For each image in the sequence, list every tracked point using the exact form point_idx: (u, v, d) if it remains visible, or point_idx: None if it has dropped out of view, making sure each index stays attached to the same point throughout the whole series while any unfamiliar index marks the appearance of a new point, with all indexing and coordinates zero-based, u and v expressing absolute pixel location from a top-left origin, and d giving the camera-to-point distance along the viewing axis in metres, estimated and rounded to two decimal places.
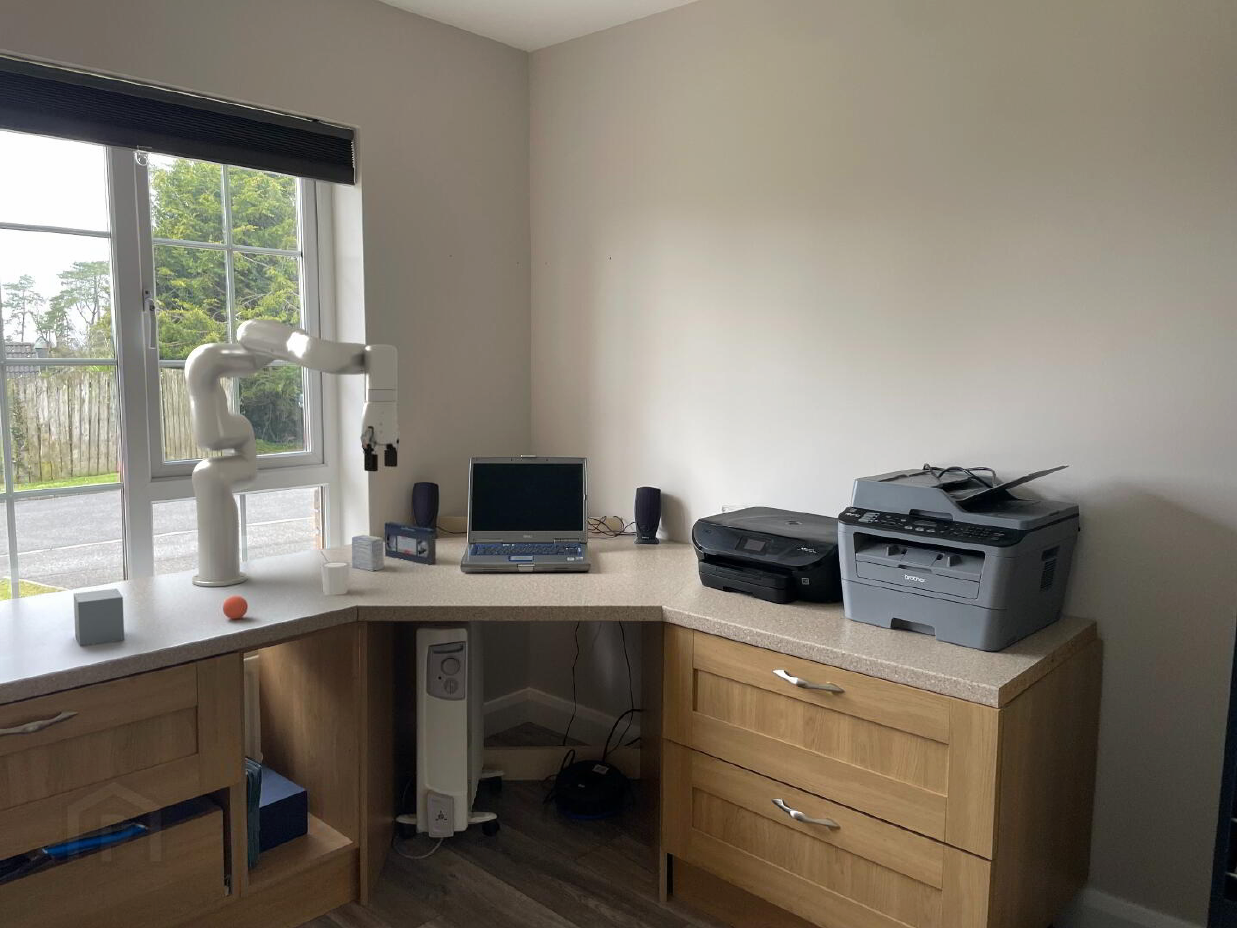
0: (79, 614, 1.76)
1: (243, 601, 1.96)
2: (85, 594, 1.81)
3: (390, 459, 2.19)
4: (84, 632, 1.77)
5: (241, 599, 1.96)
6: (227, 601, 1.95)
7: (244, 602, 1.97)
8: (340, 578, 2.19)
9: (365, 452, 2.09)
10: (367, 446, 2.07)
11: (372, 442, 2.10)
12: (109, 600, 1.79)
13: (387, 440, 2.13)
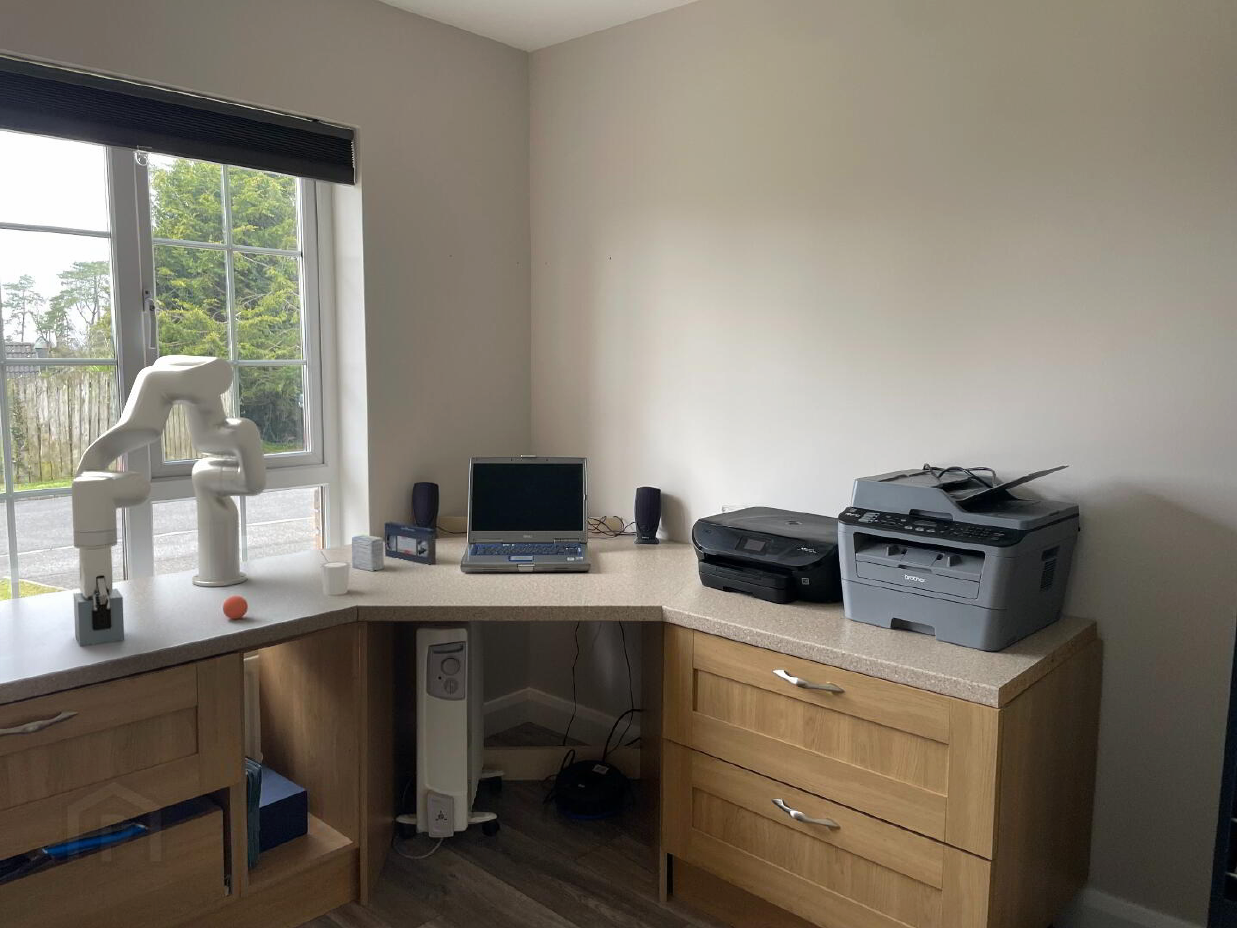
0: (79, 614, 1.76)
1: (243, 601, 1.96)
2: None
3: None
4: (84, 632, 1.77)
5: (241, 599, 1.96)
6: (227, 601, 1.95)
7: (244, 602, 1.97)
8: (340, 578, 2.19)
9: (98, 609, 1.76)
10: (106, 602, 1.75)
11: None
12: (109, 600, 1.79)
13: None
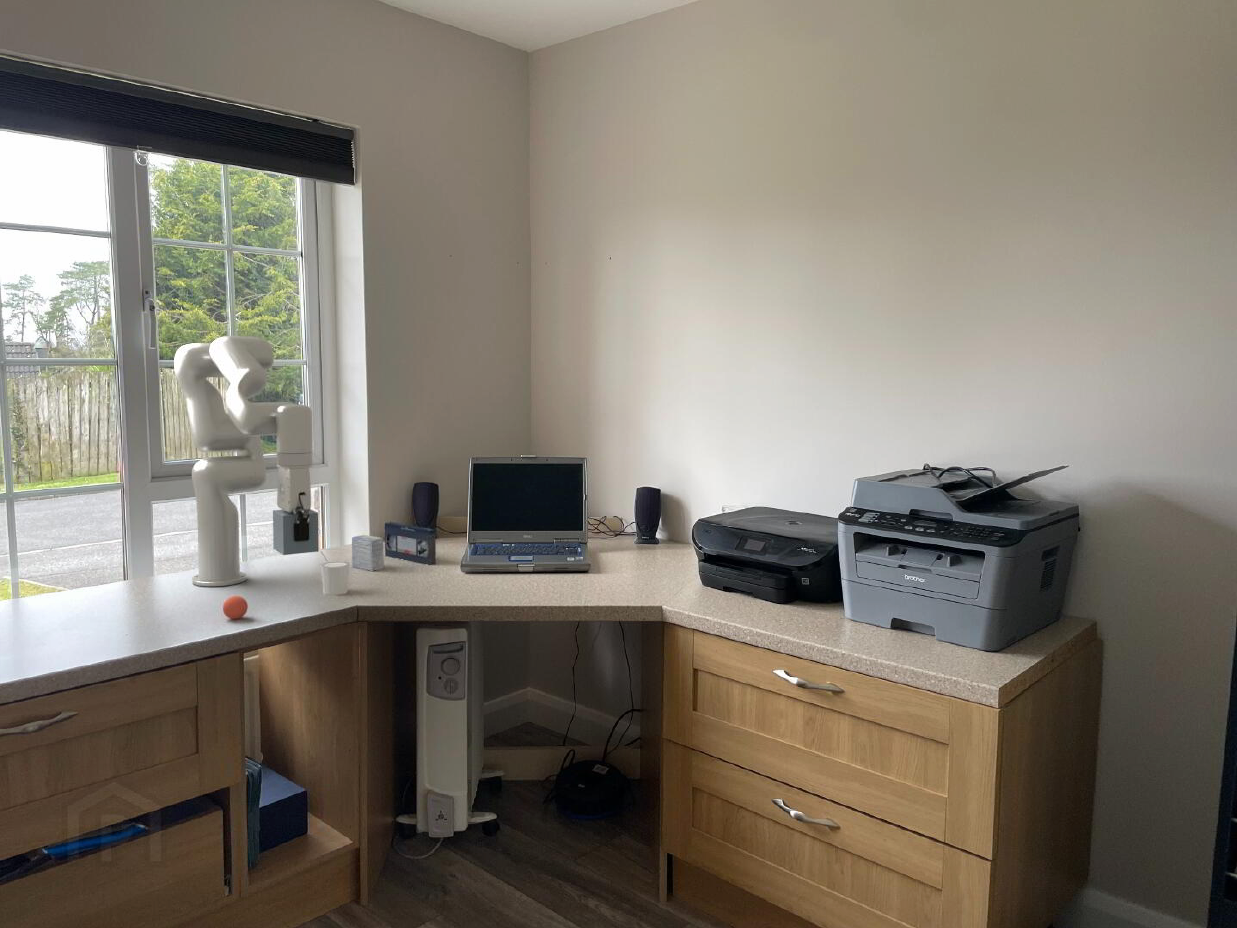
0: (283, 526, 1.98)
1: (243, 601, 1.96)
2: (284, 511, 2.03)
3: None
4: (287, 543, 1.98)
5: (241, 599, 1.96)
6: (227, 601, 1.95)
7: (244, 602, 1.97)
8: (340, 578, 2.19)
9: (300, 522, 1.98)
10: (307, 515, 1.97)
11: (302, 510, 1.99)
12: None
13: None
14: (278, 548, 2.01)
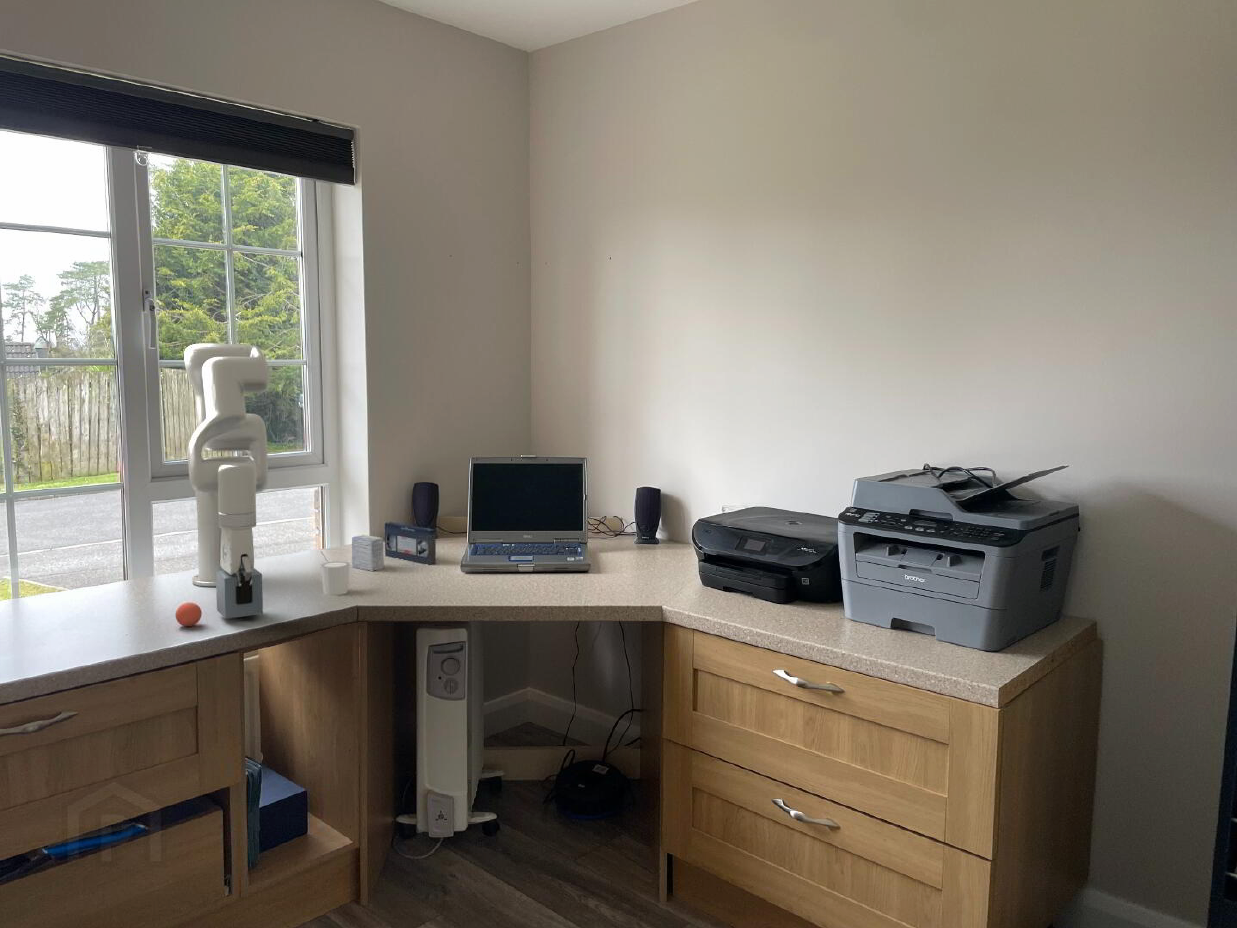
0: (225, 589, 1.92)
1: (189, 625, 1.90)
2: None
3: None
4: (229, 606, 1.92)
5: (191, 625, 1.90)
6: None
7: (187, 624, 1.89)
8: (340, 578, 2.19)
9: (242, 584, 1.92)
10: (250, 578, 1.91)
11: None
12: None
13: None
14: (221, 610, 1.95)
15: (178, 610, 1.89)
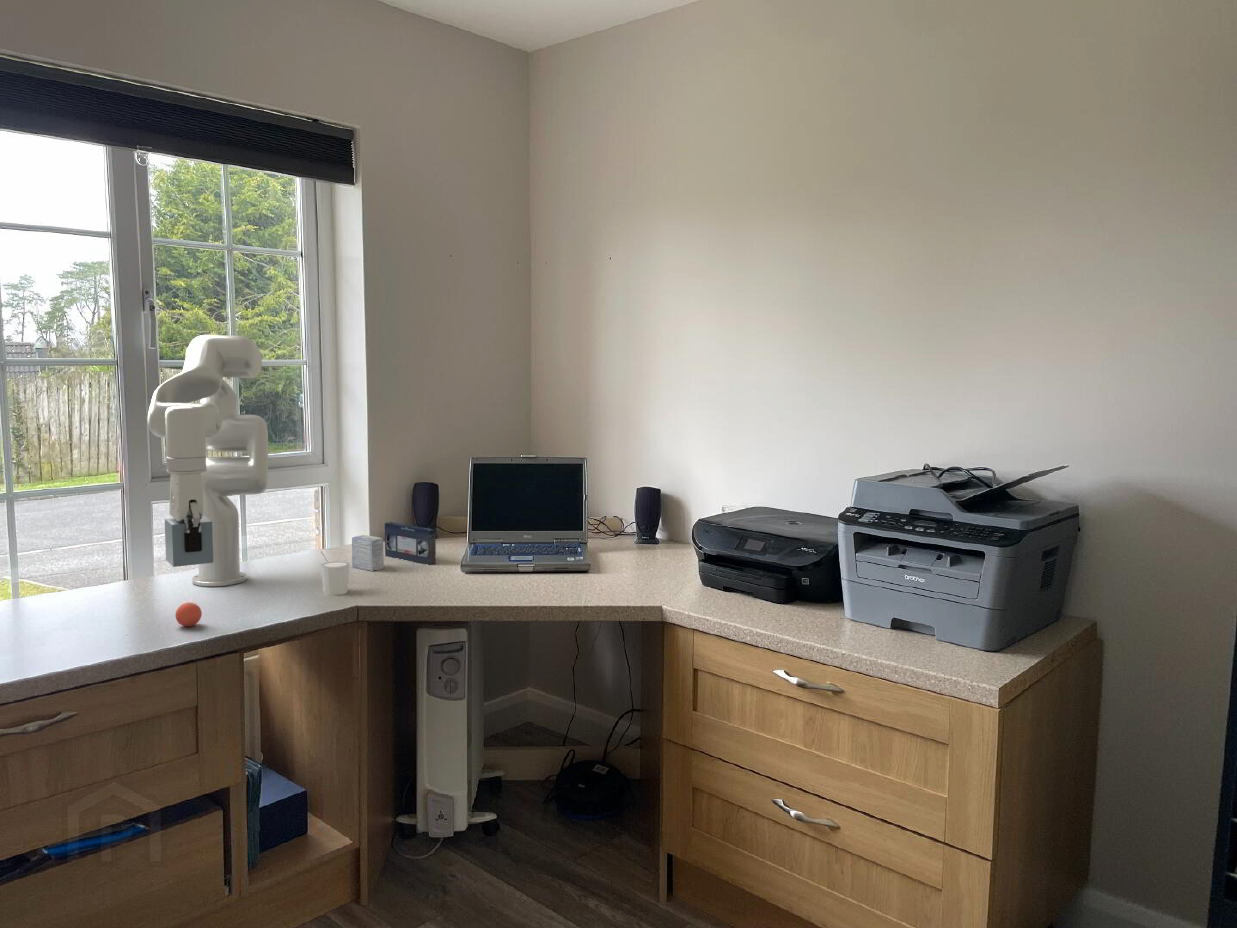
0: (173, 536, 1.84)
1: (189, 625, 1.90)
2: None
3: None
4: (177, 554, 1.85)
5: (191, 625, 1.90)
6: None
7: (187, 624, 1.89)
8: (340, 578, 2.19)
9: (190, 531, 1.85)
10: (198, 524, 1.84)
11: None
12: None
13: None
14: (169, 559, 1.88)
15: (178, 610, 1.89)
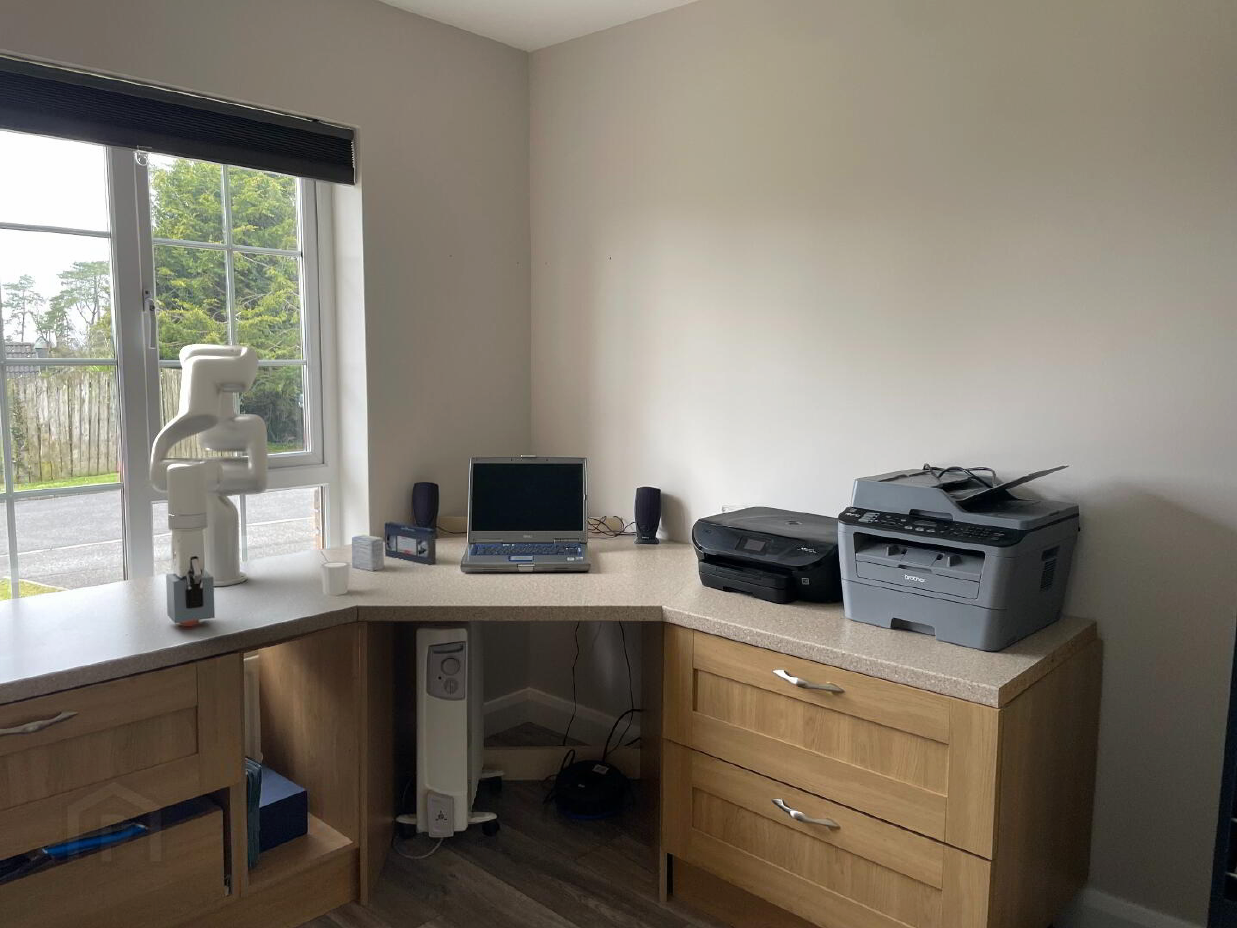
0: (174, 593, 1.86)
1: (189, 625, 1.90)
2: None
3: None
4: (179, 610, 1.86)
5: (191, 625, 1.90)
6: None
7: (187, 624, 1.89)
8: (340, 578, 2.19)
9: (192, 588, 1.86)
10: (200, 581, 1.85)
11: None
12: None
13: None
14: (171, 615, 1.89)
15: None
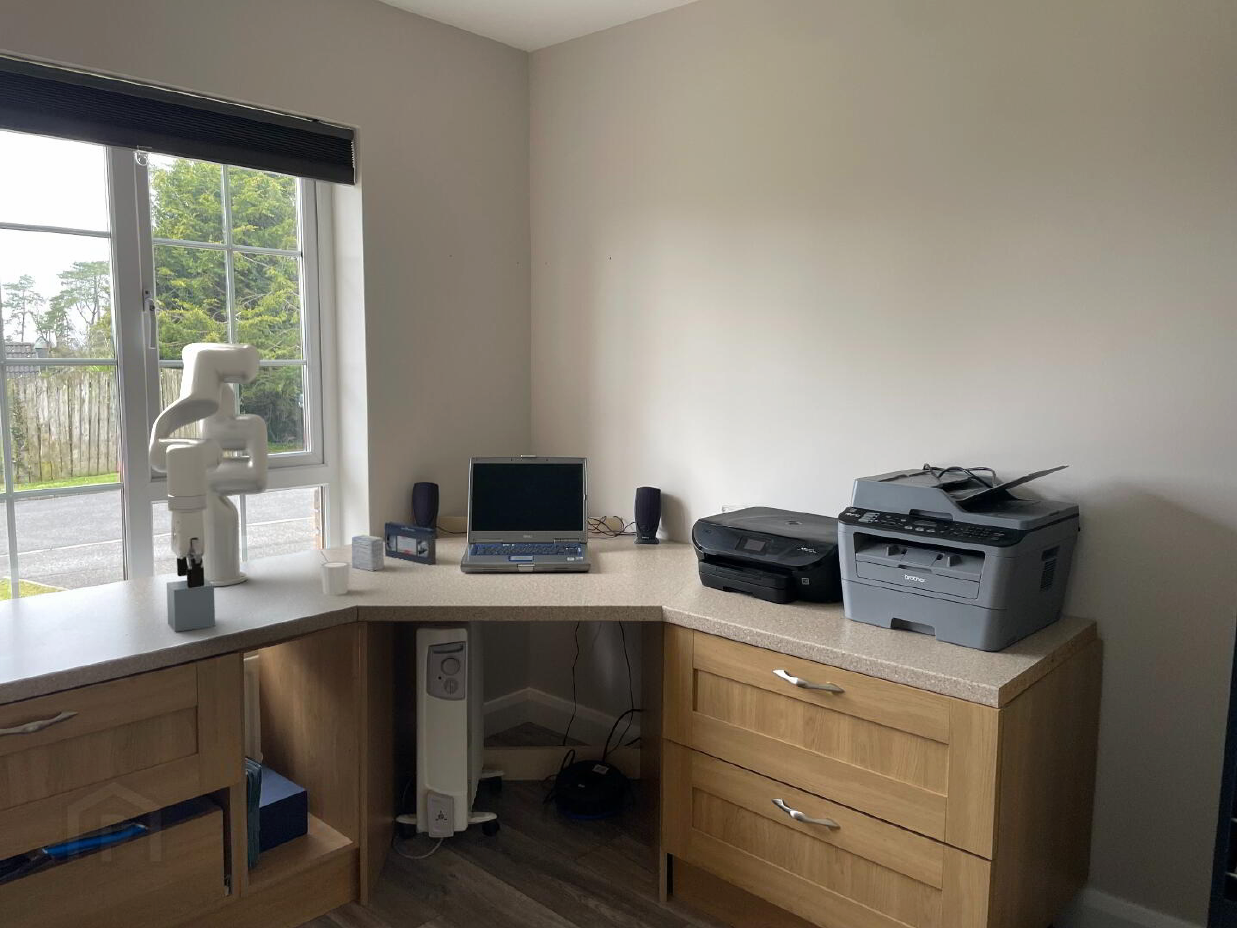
0: (175, 601, 1.86)
1: None
2: (178, 583, 1.91)
3: (186, 567, 1.95)
4: (179, 618, 1.87)
5: None
6: None
7: None
8: (340, 578, 2.19)
9: (193, 567, 1.86)
10: (200, 561, 1.85)
11: None
12: (202, 588, 1.89)
13: None
14: (171, 623, 1.90)
15: None
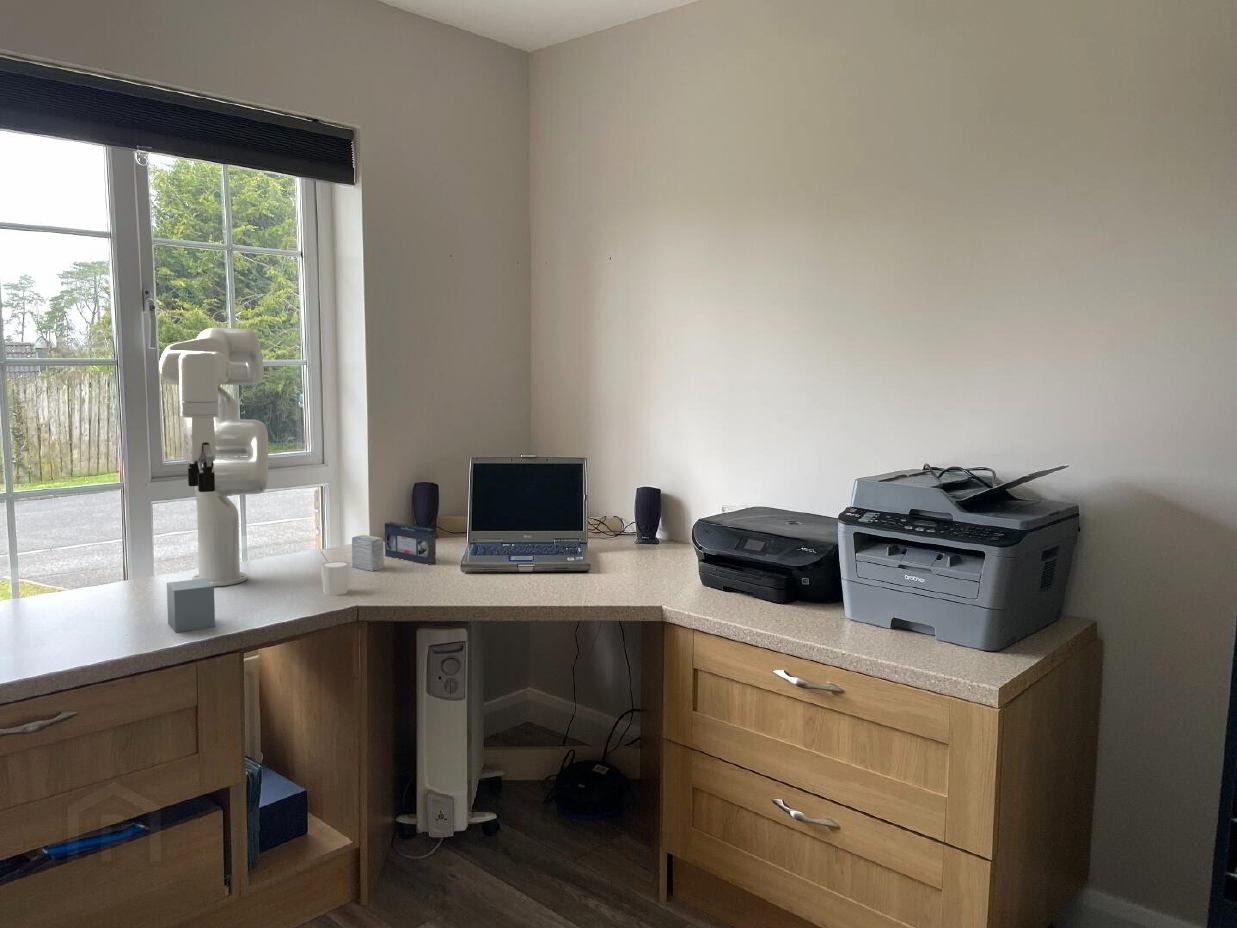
0: (175, 602, 1.86)
1: None
2: (178, 583, 1.91)
3: (197, 478, 1.99)
4: (179, 619, 1.87)
5: None
6: None
7: None
8: (340, 578, 2.19)
9: (204, 471, 1.90)
10: (212, 464, 1.89)
11: None
12: (202, 589, 1.89)
13: None
14: (171, 624, 1.90)
15: None
